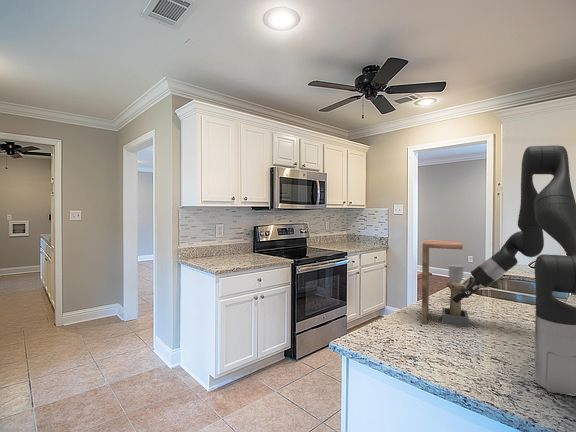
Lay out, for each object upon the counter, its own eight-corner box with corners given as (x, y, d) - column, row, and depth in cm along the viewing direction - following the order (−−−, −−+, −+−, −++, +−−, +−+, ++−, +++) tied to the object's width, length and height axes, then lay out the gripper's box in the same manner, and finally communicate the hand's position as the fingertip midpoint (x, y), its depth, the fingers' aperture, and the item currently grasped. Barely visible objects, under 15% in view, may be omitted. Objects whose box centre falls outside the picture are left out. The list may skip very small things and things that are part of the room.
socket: (468, 327, 118) (468, 318, 118) (442, 323, 122) (442, 314, 122) (466, 319, 127) (467, 310, 127) (442, 315, 131) (442, 307, 131)
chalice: (443, 302, 150) (444, 265, 149) (453, 300, 153) (453, 264, 152) (457, 306, 143) (458, 267, 143) (467, 304, 146) (467, 266, 146)
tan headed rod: (461, 324, 120) (461, 286, 120) (444, 320, 125) (444, 283, 125) (466, 321, 123) (466, 284, 123) (449, 317, 128) (449, 281, 128)
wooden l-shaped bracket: (461, 329, 115) (462, 245, 115) (421, 323, 121) (422, 243, 121) (459, 315, 131) (460, 240, 131) (424, 310, 137) (425, 239, 137)
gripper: (478, 262, 126) (446, 287, 132) (481, 268, 114) (446, 295, 119) (493, 276, 124) (460, 301, 129) (499, 284, 111) (462, 311, 117)
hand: (453, 298), depth 124 cm, fingers open, 8 cm apart
